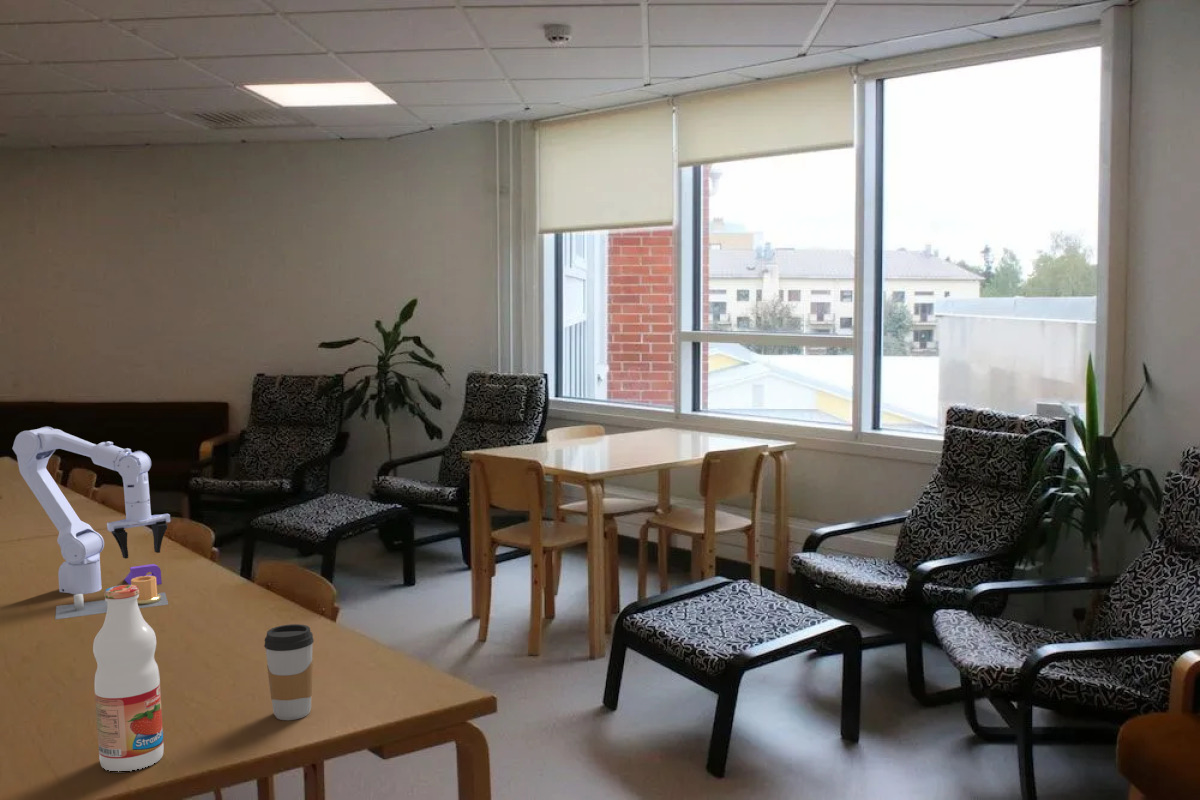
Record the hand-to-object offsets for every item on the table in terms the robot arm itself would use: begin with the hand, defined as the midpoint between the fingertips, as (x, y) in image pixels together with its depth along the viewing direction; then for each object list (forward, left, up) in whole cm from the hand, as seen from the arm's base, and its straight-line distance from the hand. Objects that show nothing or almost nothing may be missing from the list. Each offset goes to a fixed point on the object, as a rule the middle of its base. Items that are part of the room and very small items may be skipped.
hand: (141, 555), depth 266 cm
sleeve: (+8, -8, -8) cm, 14 cm away
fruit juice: (+70, -79, -11) cm, 106 cm away
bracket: (-7, +7, -11) cm, 15 cm away
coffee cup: (+83, -55, -11) cm, 100 cm away
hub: (+8, -8, -9) cm, 14 cm away
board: (+3, -13, -10) cm, 17 cm away
